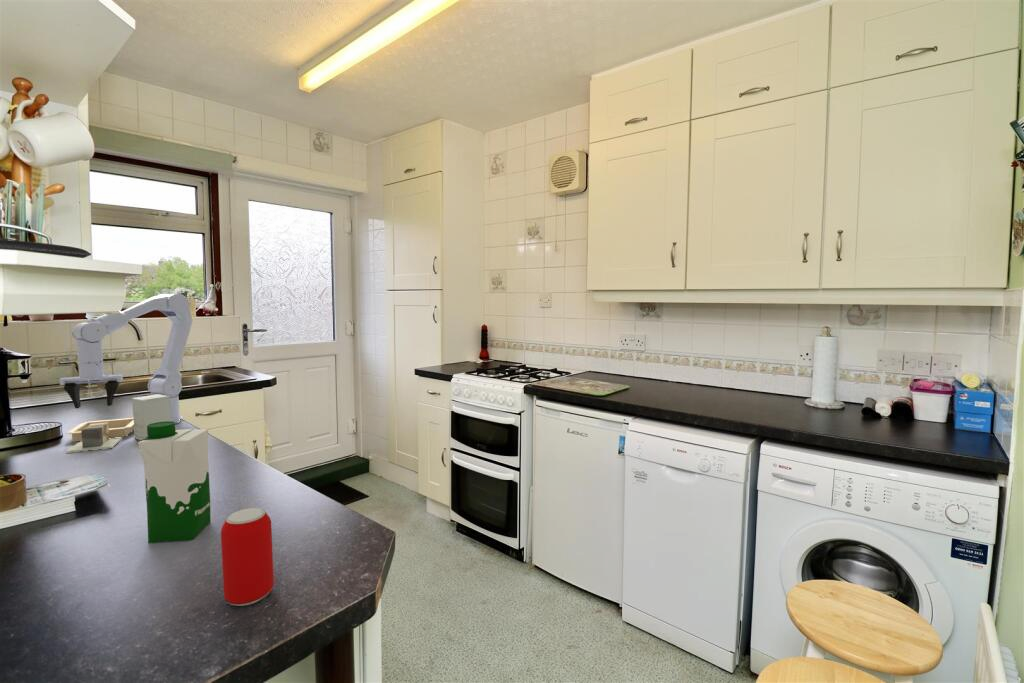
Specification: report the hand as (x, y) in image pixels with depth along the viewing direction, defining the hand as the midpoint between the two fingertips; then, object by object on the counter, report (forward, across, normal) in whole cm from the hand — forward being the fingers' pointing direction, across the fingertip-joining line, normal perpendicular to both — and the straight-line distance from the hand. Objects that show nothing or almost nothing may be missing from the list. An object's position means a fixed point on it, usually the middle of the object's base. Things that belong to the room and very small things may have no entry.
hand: (94, 406), depth 148 cm
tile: (+9, +3, -12) cm, 16 cm away
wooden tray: (+9, +2, +2) cm, 10 cm away
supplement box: (+10, +16, -9) cm, 21 cm away
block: (+9, +3, -11) cm, 15 cm away
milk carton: (+10, +34, -85) cm, 92 cm away
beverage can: (+10, +46, -112) cm, 121 cm away
